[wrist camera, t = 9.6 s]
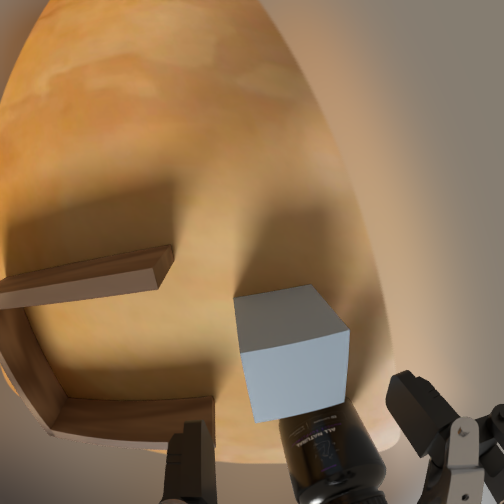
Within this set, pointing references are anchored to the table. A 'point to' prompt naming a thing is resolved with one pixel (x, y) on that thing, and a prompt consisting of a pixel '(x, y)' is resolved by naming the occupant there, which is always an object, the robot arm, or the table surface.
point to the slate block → (291, 352)
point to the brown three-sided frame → (43, 379)
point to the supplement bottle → (332, 457)
